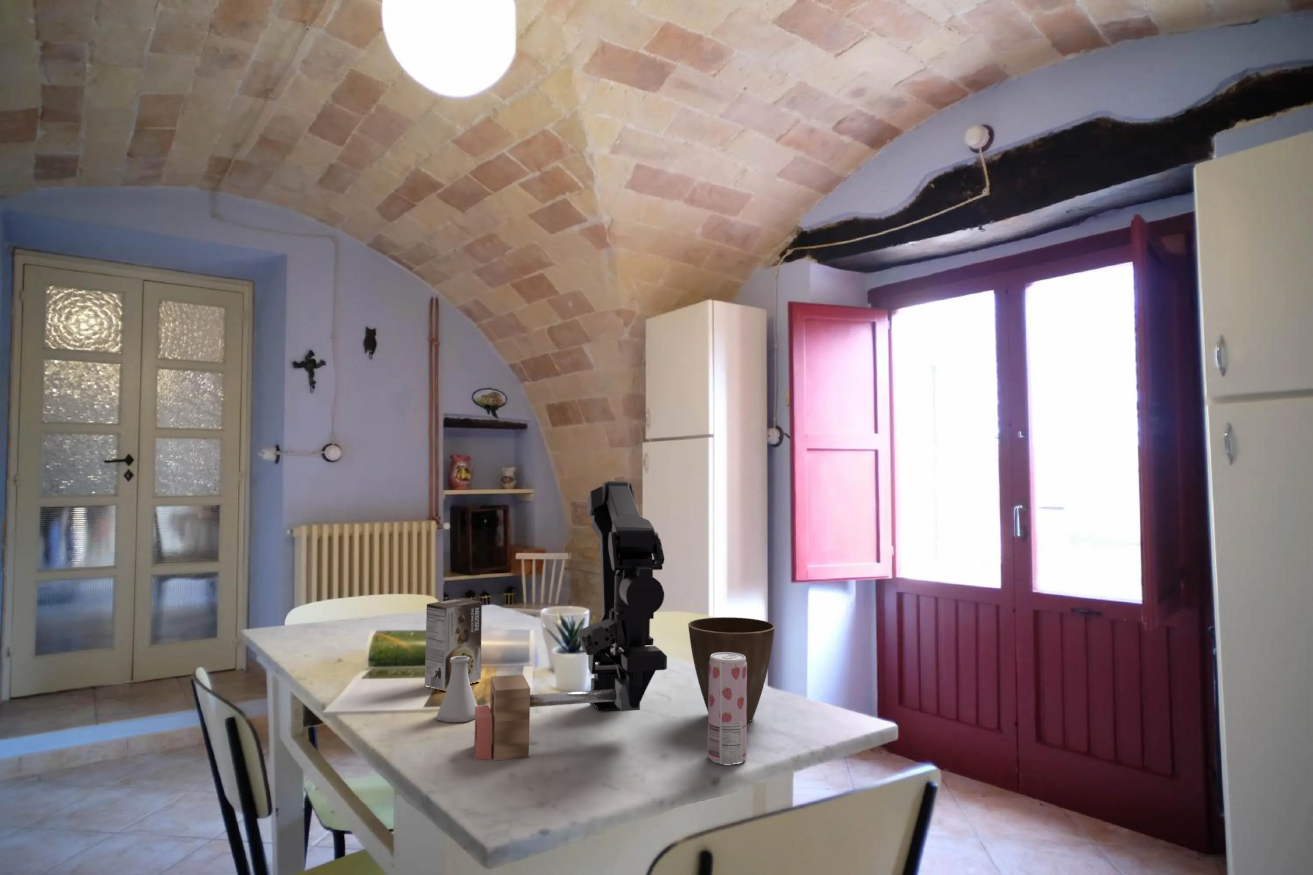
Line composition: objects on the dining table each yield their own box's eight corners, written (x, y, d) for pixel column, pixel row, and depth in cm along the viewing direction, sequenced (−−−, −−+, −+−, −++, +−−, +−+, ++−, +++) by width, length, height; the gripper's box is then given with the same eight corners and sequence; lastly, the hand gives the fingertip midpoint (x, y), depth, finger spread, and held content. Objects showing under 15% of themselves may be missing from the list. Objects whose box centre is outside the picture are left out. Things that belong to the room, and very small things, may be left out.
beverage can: (748, 753, 117) (749, 652, 117) (743, 767, 111) (744, 661, 112) (710, 750, 118) (711, 650, 119) (704, 763, 112) (705, 658, 113)
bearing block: (521, 739, 122) (523, 674, 122) (528, 757, 114) (530, 688, 115) (489, 741, 120) (490, 676, 121) (494, 760, 113) (495, 690, 113)
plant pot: (675, 725, 130) (676, 628, 131) (701, 701, 144) (702, 614, 144) (763, 736, 125) (764, 635, 125) (781, 710, 139) (782, 620, 139)
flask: (468, 725, 128) (470, 664, 129) (428, 721, 130) (429, 661, 130) (486, 712, 135) (488, 654, 136) (448, 709, 137) (449, 651, 137)
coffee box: (460, 677, 158) (462, 597, 159) (481, 682, 154) (483, 600, 155) (422, 686, 151) (425, 602, 151) (444, 692, 147) (447, 606, 148)
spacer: (487, 744, 119) (488, 705, 119) (491, 758, 113) (492, 716, 114) (474, 745, 119) (475, 706, 119) (477, 759, 113) (478, 717, 113)
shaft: (633, 702, 125) (633, 677, 125) (639, 709, 121) (640, 683, 122) (510, 711, 119) (511, 685, 120) (513, 719, 116) (514, 692, 116)
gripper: (571, 596, 130) (569, 690, 130) (595, 616, 112) (593, 725, 112) (635, 594, 134) (633, 686, 133) (668, 613, 116) (667, 719, 115)
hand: (630, 703), depth 123 cm, fingers closed on shaft, 4 cm apart
